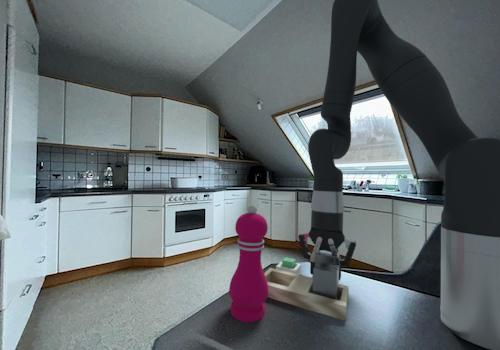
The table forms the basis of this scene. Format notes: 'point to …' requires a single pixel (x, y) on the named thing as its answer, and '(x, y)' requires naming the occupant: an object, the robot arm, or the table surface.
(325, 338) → the table surface
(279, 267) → the button housing
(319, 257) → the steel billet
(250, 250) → the pepper mill
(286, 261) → the button
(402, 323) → the table surface
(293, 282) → the wooden tray
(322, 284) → the block
